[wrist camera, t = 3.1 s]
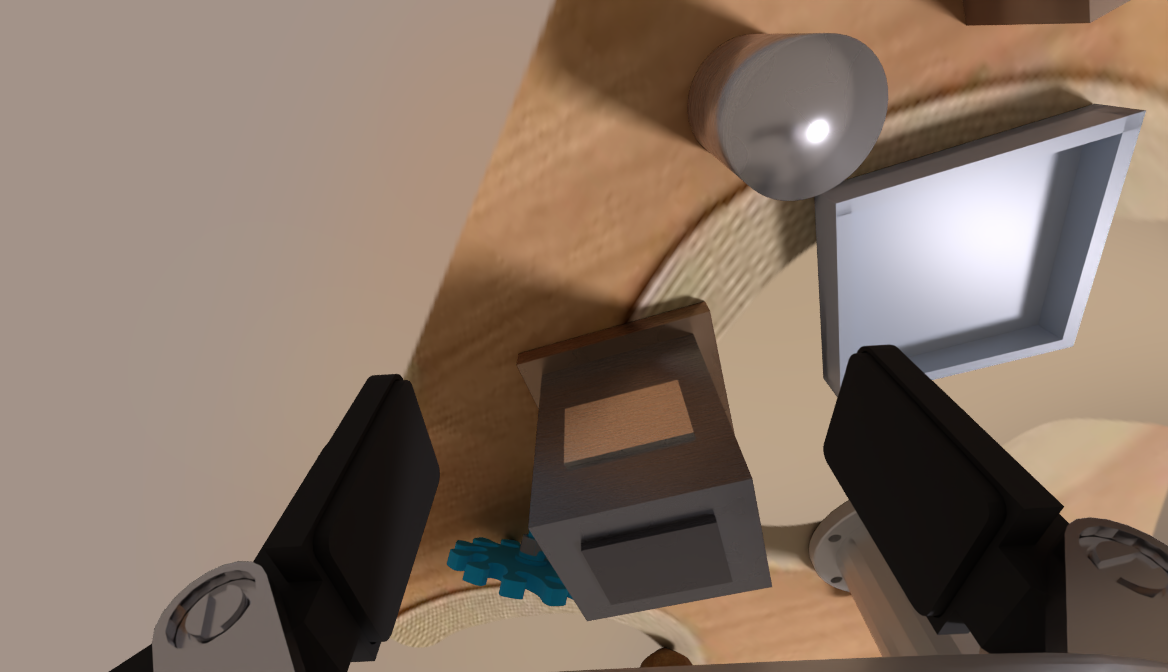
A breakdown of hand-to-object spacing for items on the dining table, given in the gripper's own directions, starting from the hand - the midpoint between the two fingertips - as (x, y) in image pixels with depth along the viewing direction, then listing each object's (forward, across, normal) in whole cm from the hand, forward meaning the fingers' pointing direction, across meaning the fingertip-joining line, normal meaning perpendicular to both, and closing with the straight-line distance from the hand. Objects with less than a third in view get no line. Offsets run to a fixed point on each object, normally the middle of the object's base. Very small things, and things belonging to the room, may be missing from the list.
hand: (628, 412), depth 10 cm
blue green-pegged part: (+13, +5, +21) cm, 25 cm away
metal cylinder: (+13, -6, -4) cm, 15 cm away
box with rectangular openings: (+13, -1, +10) cm, 16 cm away
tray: (+13, -16, +3) cm, 21 cm away
